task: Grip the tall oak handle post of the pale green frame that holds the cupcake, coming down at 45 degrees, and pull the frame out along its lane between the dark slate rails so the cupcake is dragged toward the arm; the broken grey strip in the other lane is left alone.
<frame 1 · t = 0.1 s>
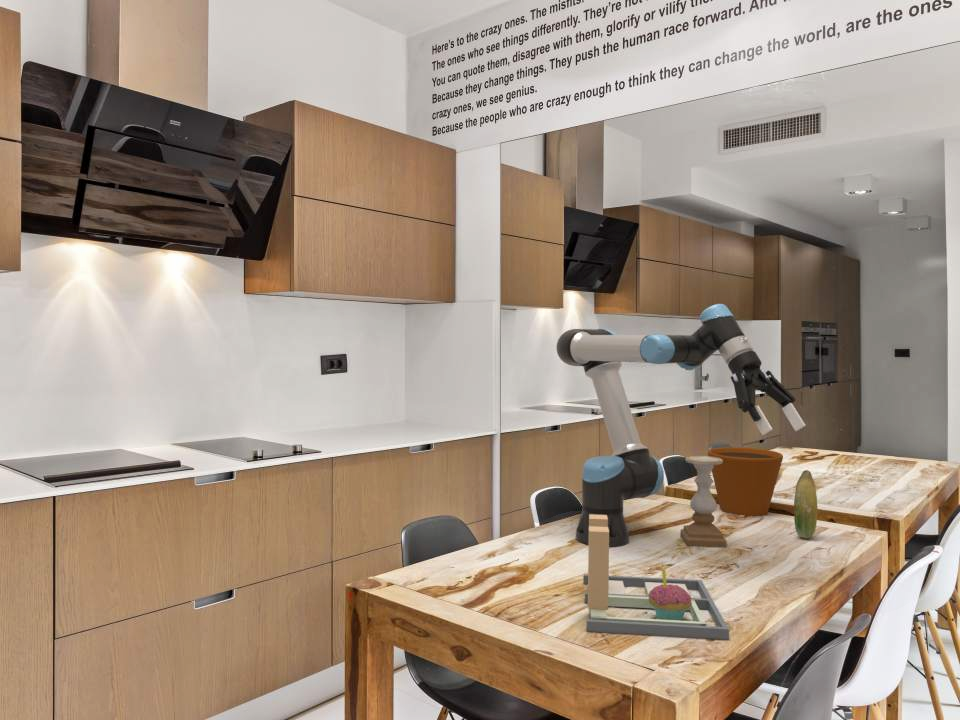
hand: (784, 430, 169), 36 cm above the table, tool tilted 35°, fingers open, 13 cm apart
vegetable: (805, 539, 204), on the table
cupcake: (669, 621, 144), resting in pale green frame
strip b broken: (642, 595, 157), resting in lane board
flower pot: (743, 511, 237), on the table
candle holder: (702, 542, 201), on the table
pale green frame: (643, 574, 144), point 9 cm above the table, slide at 0.0 cm
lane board: (646, 608, 150), on the table
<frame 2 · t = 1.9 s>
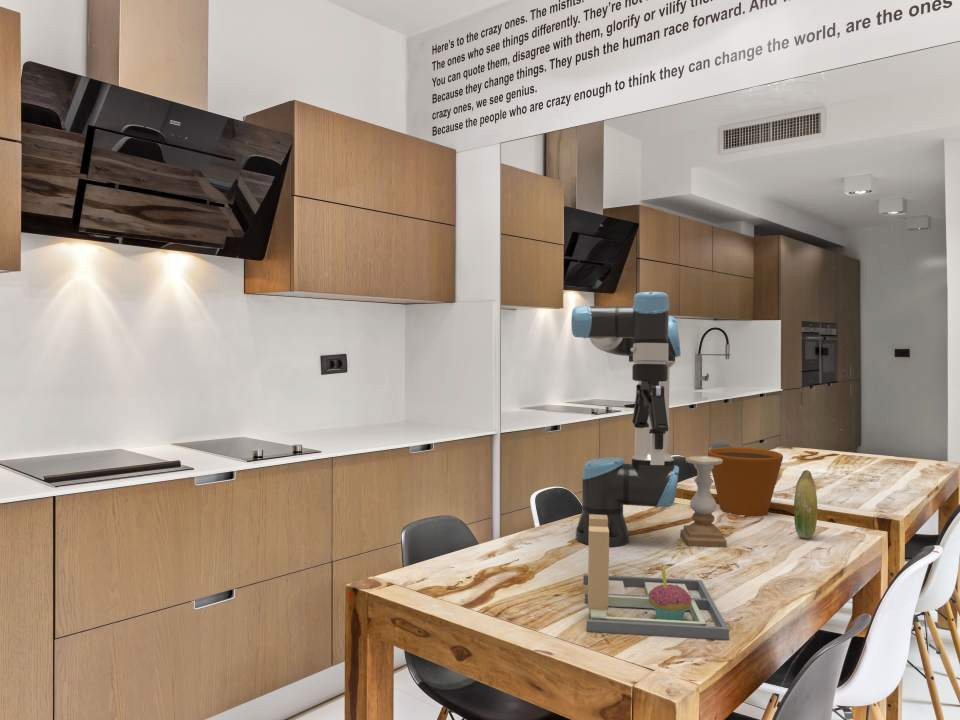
hand: (648, 460, 153), 31 cm above the table, tool pointing down, fingers open, 13 cm apart
nothing on the table moved.
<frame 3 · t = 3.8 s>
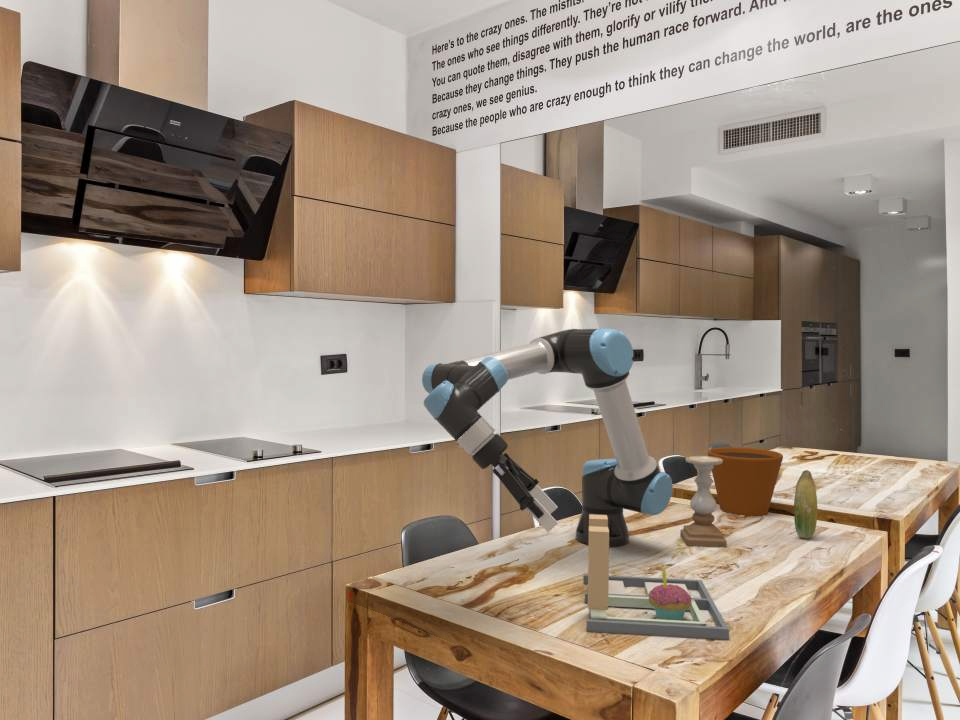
hand: (553, 519, 146), 20 cm above the table, tool tilted 45°, fingers open, 13 cm apart
nothing on the table moved.
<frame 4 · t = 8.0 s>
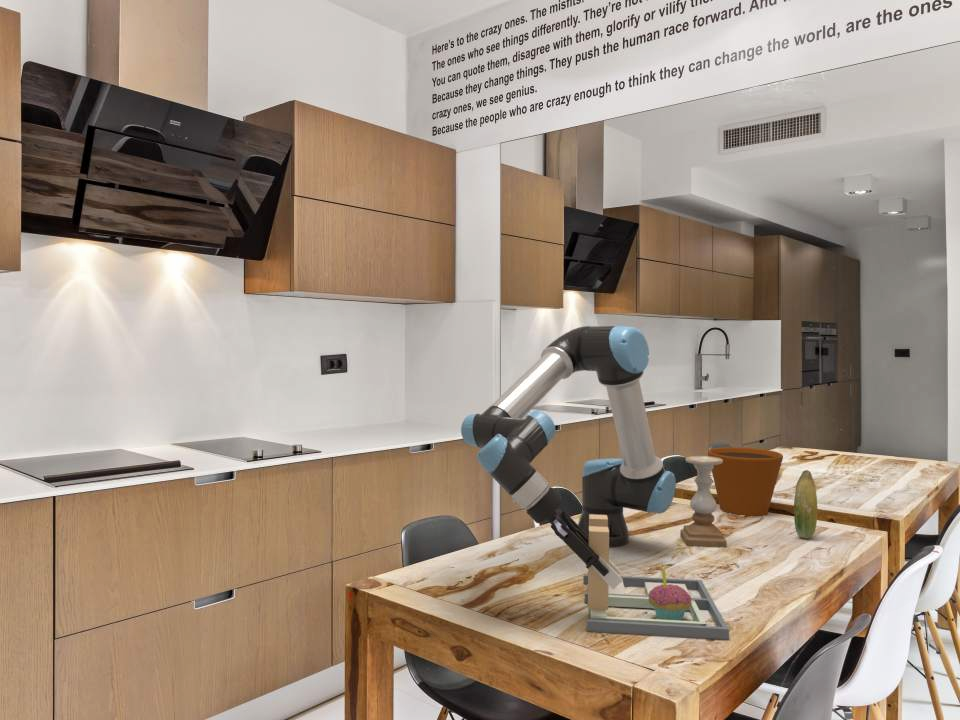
hand: (616, 580, 145), 8 cm above the table, tool tilted 45°, fingers closed on pale green frame, 4 cm apart
pale green frame: (643, 574, 144), point 9 cm above the table, slide at 0.0 cm, touching gripper
everything else where it was.
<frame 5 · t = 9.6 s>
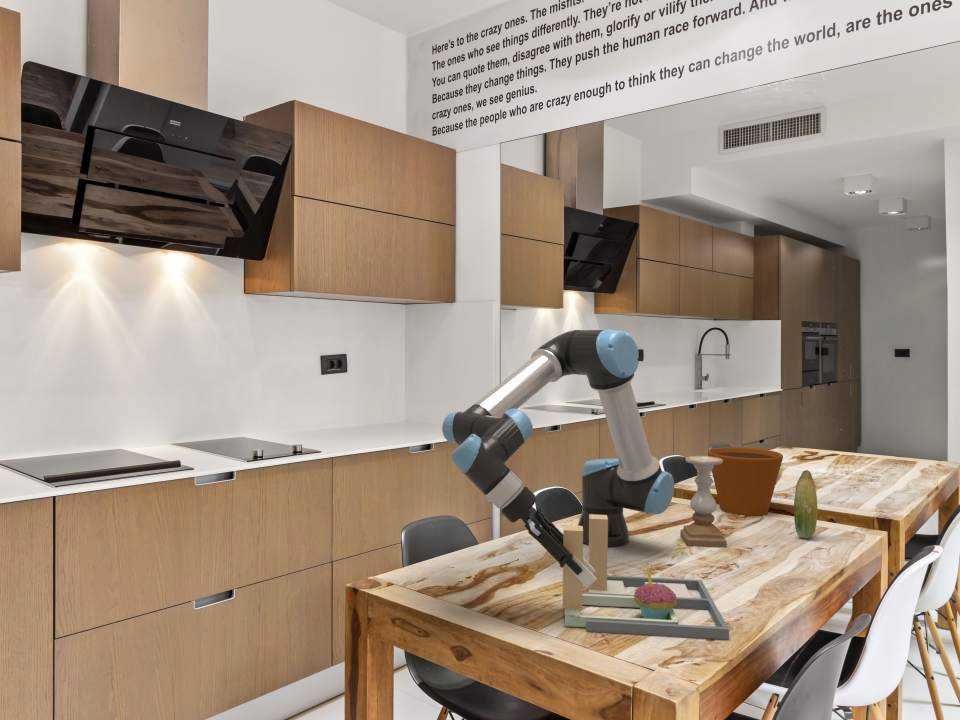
hand: (591, 578, 145), 8 cm above the table, tool tilted 45°, fingers closed on pale green frame, 4 cm apart
cupcake: (654, 620, 144), resting in pale green frame
pale green frame: (617, 573, 145), point 9 cm above the table, slide at 5.3 cm, touching cupcake, gripper
everything else where it was.
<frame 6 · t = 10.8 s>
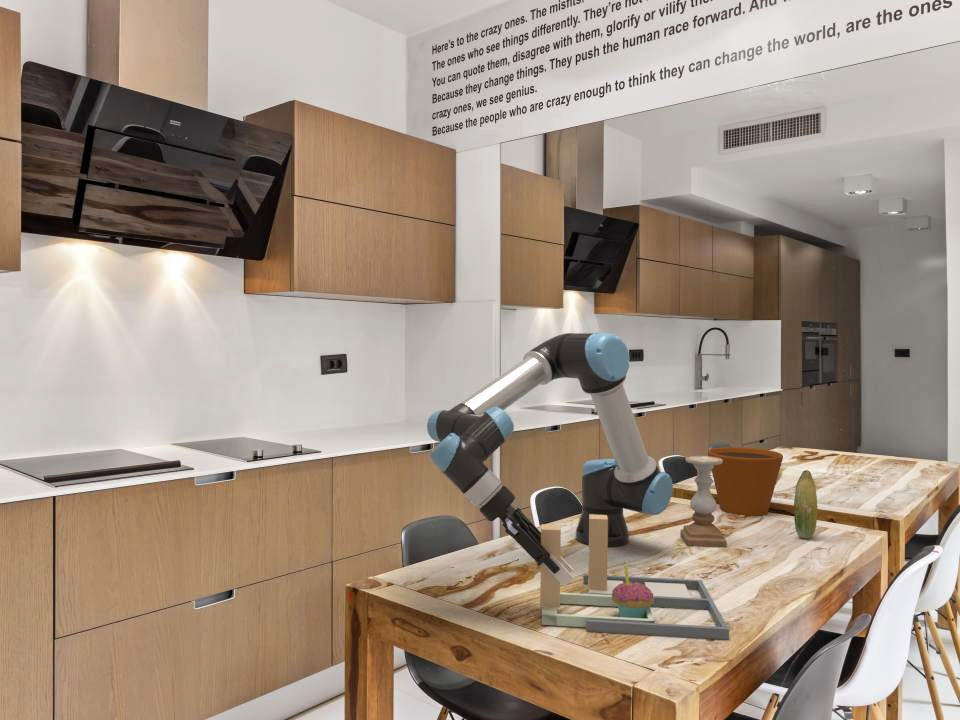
hand: (568, 577, 146), 8 cm above the table, tool tilted 45°, fingers closed on pale green frame, 4 cm apart
cupcake: (632, 618, 145), resting in pale green frame
pale green frame: (595, 572, 145), point 9 cm above the table, slide at 9.8 cm, touching cupcake, gripper
everything else where it was.
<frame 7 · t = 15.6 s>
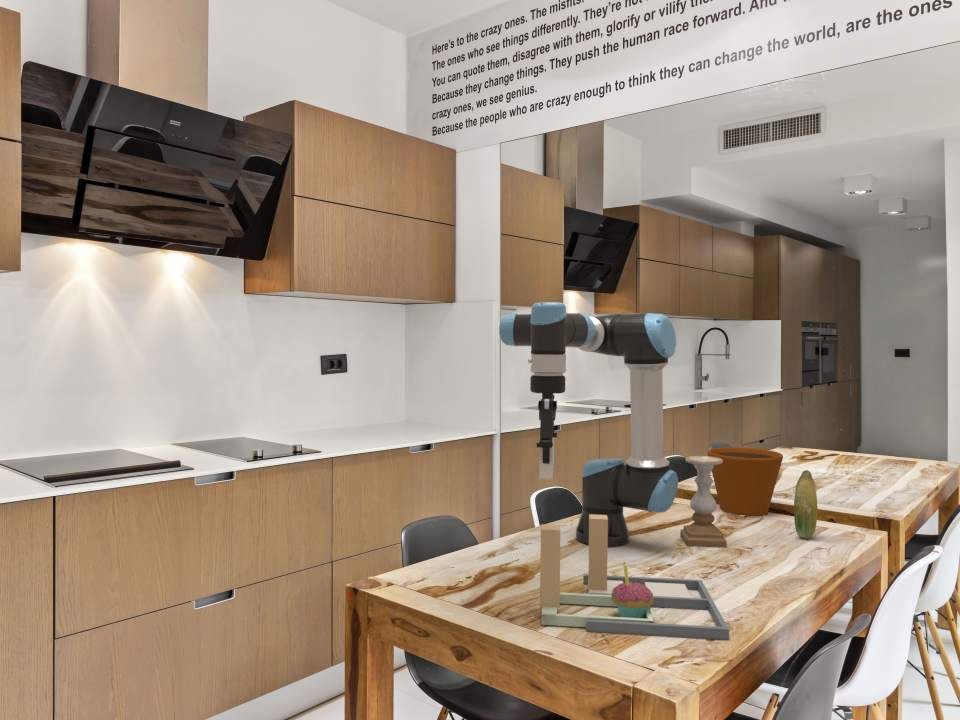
hand: (547, 472, 151), 29 cm above the table, tool pointing down, fingers open, 13 cm apart
cupcake: (631, 618, 145), resting in pale green frame
pale green frame: (595, 572, 145), point 9 cm above the table, slide at 9.9 cm
everything else where it was.
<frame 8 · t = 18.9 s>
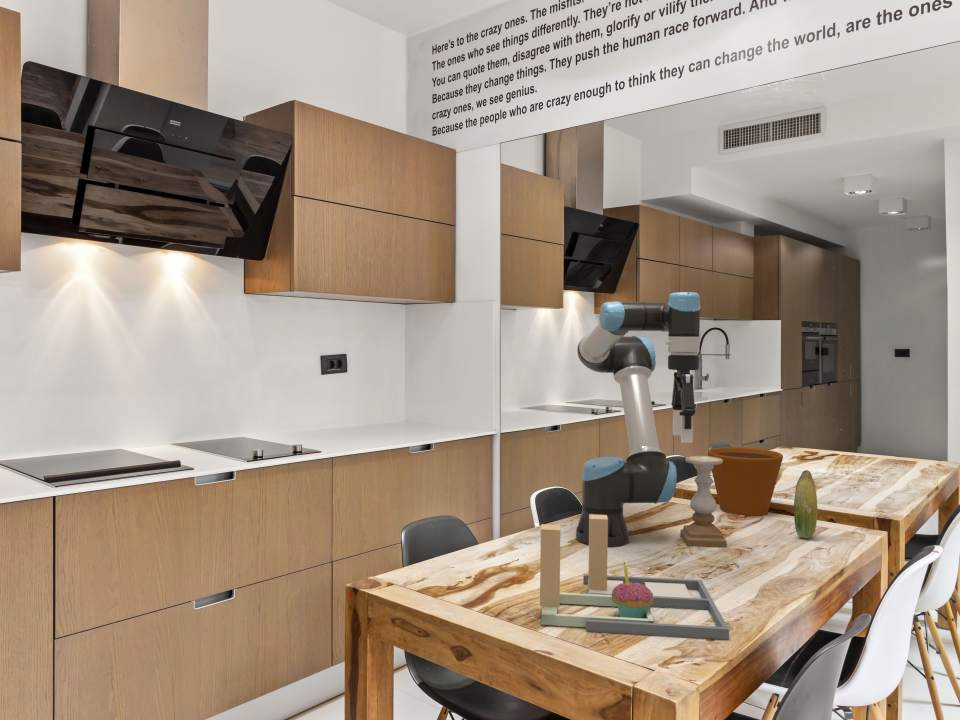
hand: (682, 438, 176), 33 cm above the table, tool pointing down, fingers open, 13 cm apart
nothing on the table moved.
at the end: pale green frame slide at 9.9 cm; cupcake inside the target area (3.3 cm from its centre), resting in pale green frame; cupcake tilted 0° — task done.
